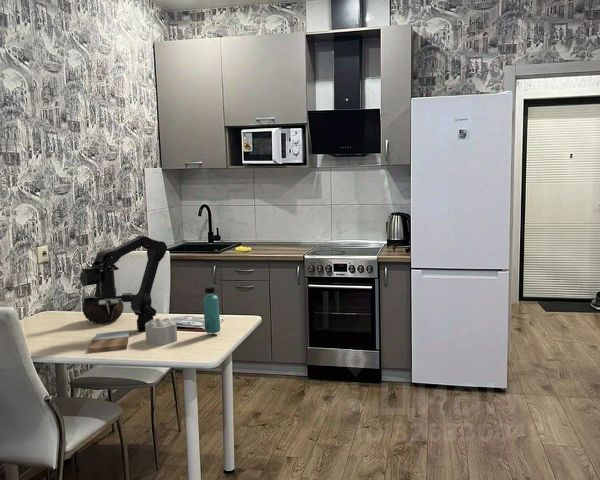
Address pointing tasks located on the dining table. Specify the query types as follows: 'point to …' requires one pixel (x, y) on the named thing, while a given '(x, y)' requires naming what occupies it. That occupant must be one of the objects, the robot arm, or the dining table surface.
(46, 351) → the dining table surface
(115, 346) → the walnut floor board
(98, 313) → the brown flower vase
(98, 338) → the floor tile
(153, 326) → the lumpy-topped squat cylinder
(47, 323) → the dining table surface
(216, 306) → the beverage bottle
